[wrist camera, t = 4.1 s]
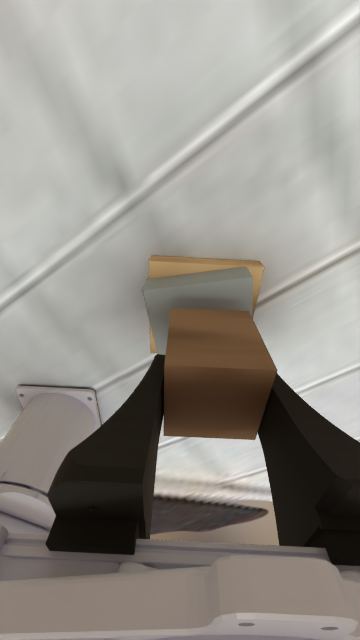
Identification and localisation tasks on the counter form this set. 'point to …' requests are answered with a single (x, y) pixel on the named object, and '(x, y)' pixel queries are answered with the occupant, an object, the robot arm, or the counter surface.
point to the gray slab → (196, 296)
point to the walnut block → (215, 375)
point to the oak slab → (185, 265)
